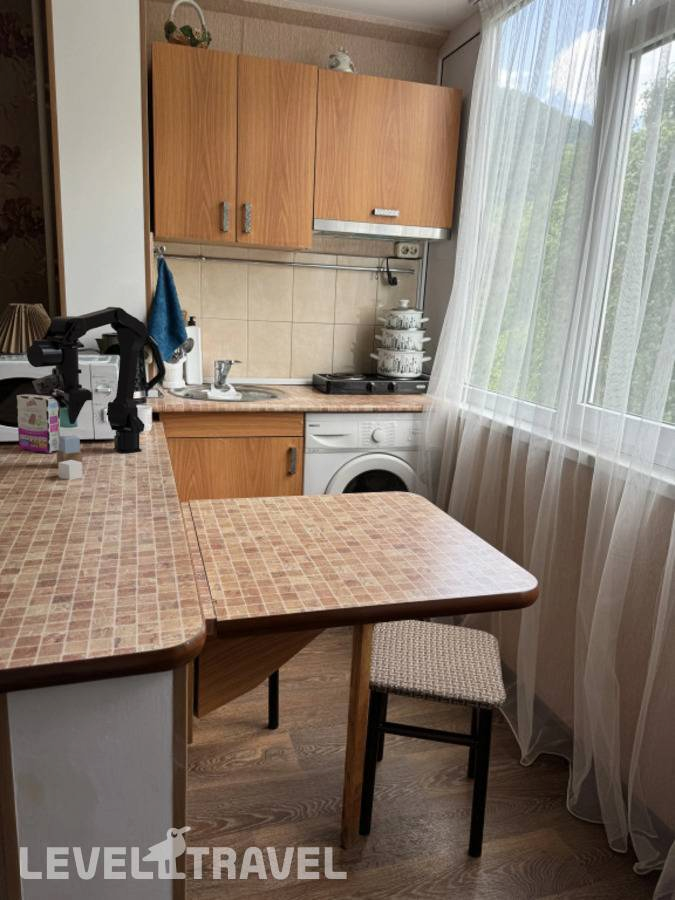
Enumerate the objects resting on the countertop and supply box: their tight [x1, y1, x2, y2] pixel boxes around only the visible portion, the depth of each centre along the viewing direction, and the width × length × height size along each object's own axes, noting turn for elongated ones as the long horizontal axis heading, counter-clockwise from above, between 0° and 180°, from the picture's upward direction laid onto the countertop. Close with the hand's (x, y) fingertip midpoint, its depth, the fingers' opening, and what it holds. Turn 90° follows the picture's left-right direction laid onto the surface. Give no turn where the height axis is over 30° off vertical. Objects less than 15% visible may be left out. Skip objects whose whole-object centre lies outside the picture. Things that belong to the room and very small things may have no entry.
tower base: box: [56, 450, 83, 465], centre depth 177 cm, size 5×5×4 cm
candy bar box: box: [16, 393, 61, 454], centre depth 190 cm, size 11×5×16 cm, turn 73°
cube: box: [57, 460, 83, 481], centre depth 166 cm, size 4×4×4 cm
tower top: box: [59, 434, 81, 454], centre depth 176 cm, size 4×4×4 cm
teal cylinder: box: [59, 407, 79, 429], centre depth 174 cm, size 4×4×5 cm
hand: (68, 422), depth 175 cm, fingers closed on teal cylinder, 4 cm apart
